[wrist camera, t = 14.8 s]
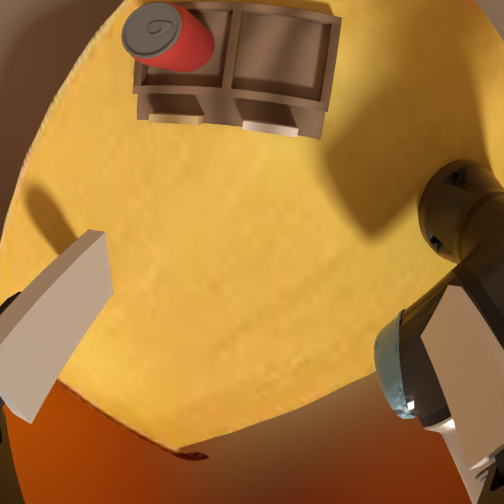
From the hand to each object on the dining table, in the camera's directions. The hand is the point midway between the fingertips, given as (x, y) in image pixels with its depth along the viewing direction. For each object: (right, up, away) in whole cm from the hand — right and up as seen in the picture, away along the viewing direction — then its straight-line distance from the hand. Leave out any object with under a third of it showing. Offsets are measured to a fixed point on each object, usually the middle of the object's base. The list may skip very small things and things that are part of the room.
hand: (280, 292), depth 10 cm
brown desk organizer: (-3, +24, +20) cm, 31 cm away
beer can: (-8, +26, +19) cm, 33 cm away
